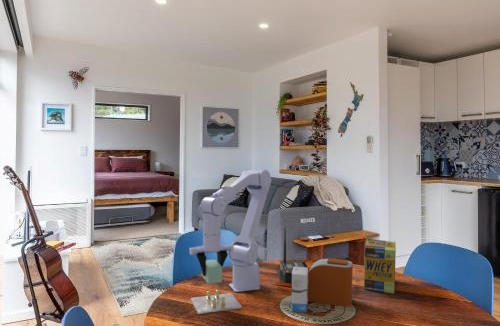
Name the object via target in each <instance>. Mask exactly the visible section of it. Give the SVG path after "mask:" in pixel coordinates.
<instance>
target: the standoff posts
mask: <svg viewBox="0 0 500 326" xmlns="http://www.w3.org/2000/svg"><path fill="white" fill-rule="evenodd" d="M219 294H220V290H219V289H216V290H215V295H216V298H219ZM210 295H211V290H206V296H207V299H210ZM221 306H225V297H222V298H221ZM212 307H216V299H215V298H213V299H212Z"/></svg>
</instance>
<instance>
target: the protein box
mask: <svg viewBox="0 0 500 326" xmlns="http://www.w3.org/2000/svg"><path fill="white" fill-rule="evenodd" d="M396 247H397V246H396V241H391V240H383V239H382V240H381V239H372V238H367V241H366V244H365V247H364V265H363V266H364V271H363V273H364V274H363V289H364V290H366V291H372V292H373V291H374V292H381V293H386V294H395V283H396V252H397V251H396Z"/></svg>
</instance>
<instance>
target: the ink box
mask: <svg viewBox="0 0 500 326" xmlns="http://www.w3.org/2000/svg"><path fill="white" fill-rule="evenodd" d="M308 268H309V267H308ZM308 268H307V267H294V268H293V271H292V282H291V311H292V312H295V313H296V312H298V313H308V304H309V302H308Z"/></svg>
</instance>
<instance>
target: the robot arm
mask: <svg viewBox="0 0 500 326" xmlns="http://www.w3.org/2000/svg"><path fill="white" fill-rule="evenodd" d="M271 183H272V177H271V174H270V172H269V170H268V169H250V168H249V169H248V168H246V169H245V170H244V171H241V174H240V176H239V177H238V178H237V179H235V181H233V182H232V183H231V184H230V185H227V184H226V185H224V184H223V185H222V186H221V187H220V189H219V190H217V191H216V192H213V193H212V195H210V196H205V197H204V198H203V199H202V200H201V202H200V203H199V204H200V205H199V207H198V208H199V211H200V213H201V219H202V220H203V221H202V222H203V223H202V229H203V230H202V233H203V234H202V238H203V239H202V245H198V246H193V247H189V255H190V256H194V255H196V258H197V260H198V262H199V266H200V268H201V269H200V270H202V275H203V276H206V260H207V256H206V254H209V253H210V254H211V253H216V259H217V260H216V261H217V262H218V263H219V264H220V265H221V266H222V268H223V267H224V264H225V261H226V259H227V258H229V260H231V261H230V262H231V264H232V282H231V283H229V287H230V288H231V289H232V290H233V291H234V292H235V293H238V292H239V293H240V292H246V291H247V292H249V291H256V290H260V289H261V286H260V267H259V266H260V265H259V264H258V263H257V262H256V261H257V259H258V250H259V244H258V243H257V242H256V239H255V238H256V233H257V229H258V227H259V224H260V220H261V216H262V214H263V213H262V212H263V210H264V206H265V203H266V200H267V195H268V193H269V191H270V190H269V189H270V187H271ZM245 188H246V190H247V191H248V192H249V193H250V194H251V199H250V201H249V205H248V207H247V212H246V214H245V219H244V222H243V225H242V227H241V228H242V229H241V231H240V233H239V235H238V236H236V237H235V238H233V240H232V243H229V244H221V227H222V226H221V221H222V218H221V216H222V215H223V213H224V212H225V208H226V207H227V206H228V205H229V204H230V203H232V202H233V201H234V200H235V199H236V196H237V193H239V192H241V191H242V190H243V189H245ZM202 275H201V276H202Z"/></svg>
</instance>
